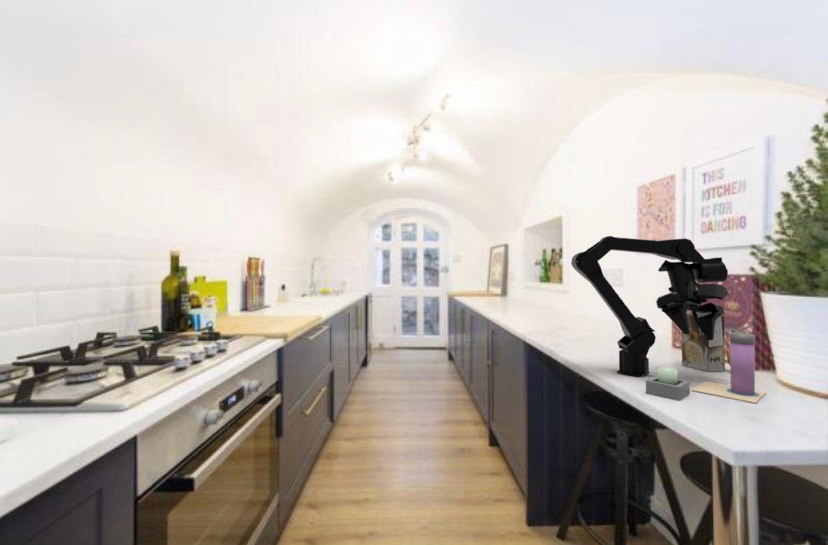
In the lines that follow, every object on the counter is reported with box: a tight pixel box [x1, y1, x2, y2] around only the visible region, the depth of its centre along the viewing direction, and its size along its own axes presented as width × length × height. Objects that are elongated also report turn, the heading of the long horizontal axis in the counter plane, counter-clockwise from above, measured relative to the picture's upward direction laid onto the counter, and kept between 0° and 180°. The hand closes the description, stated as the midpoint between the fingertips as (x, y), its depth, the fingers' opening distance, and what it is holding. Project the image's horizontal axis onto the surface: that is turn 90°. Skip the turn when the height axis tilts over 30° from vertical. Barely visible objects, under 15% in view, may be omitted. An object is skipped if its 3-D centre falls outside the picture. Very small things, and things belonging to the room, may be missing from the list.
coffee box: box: [681, 312, 726, 373], centre depth 117 cm, size 9×6×16 cm
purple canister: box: [729, 332, 756, 395], centre depth 92 cm, size 5×5×14 cm
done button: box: [657, 366, 679, 385], centre depth 93 cm, size 4×4×4 cm
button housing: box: [645, 375, 691, 401], centre depth 93 cm, size 7×7×3 cm
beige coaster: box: [690, 381, 767, 404], centre depth 94 cm, size 12×11×1 cm
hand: (699, 337), depth 100 cm, fingers open, 9 cm apart
